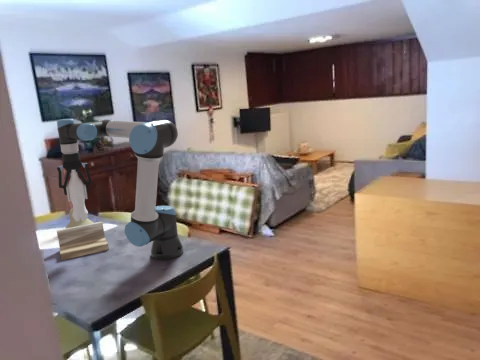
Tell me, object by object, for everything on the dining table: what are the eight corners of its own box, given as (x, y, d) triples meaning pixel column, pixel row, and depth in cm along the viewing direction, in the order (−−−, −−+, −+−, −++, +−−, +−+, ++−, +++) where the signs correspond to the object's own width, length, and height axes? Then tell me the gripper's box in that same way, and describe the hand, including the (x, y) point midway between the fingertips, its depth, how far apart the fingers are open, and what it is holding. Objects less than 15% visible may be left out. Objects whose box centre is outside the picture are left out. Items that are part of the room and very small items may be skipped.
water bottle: (72, 222, 194) (63, 171, 188) (74, 218, 201) (66, 168, 195) (88, 220, 196) (80, 169, 190) (89, 216, 203) (81, 167, 197)
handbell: (67, 226, 246) (60, 186, 240) (94, 222, 250) (87, 182, 244) (65, 234, 231) (57, 192, 226) (93, 230, 236) (86, 188, 230)
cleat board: (108, 249, 205) (105, 228, 202) (61, 260, 196) (57, 238, 193) (105, 241, 217) (102, 221, 215) (60, 250, 208) (56, 230, 206)
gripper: (92, 148, 198) (98, 194, 203) (46, 154, 190) (55, 201, 195) (93, 150, 191) (100, 198, 197) (46, 156, 183) (55, 205, 189)
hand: (77, 199), depth 196 cm, fingers closed on water bottle, 7 cm apart
